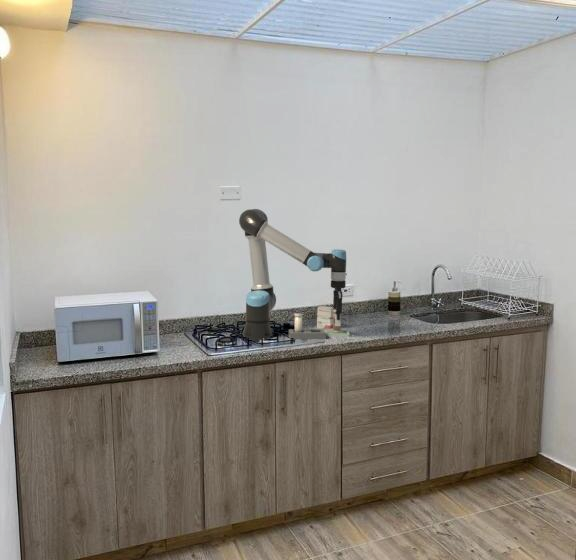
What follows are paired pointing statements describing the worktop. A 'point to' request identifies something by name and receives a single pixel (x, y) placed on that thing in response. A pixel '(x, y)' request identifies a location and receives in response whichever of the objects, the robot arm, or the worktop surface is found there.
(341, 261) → the robot arm
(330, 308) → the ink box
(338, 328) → the fuse
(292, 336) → the fuse block
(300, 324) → the cylinder
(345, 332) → the parts tray
